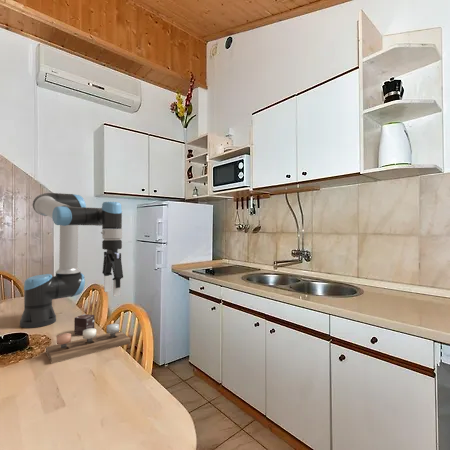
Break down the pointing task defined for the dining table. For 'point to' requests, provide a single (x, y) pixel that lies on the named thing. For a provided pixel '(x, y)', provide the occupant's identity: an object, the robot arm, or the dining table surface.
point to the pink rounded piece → (63, 339)
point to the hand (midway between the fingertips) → (112, 293)
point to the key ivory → (89, 334)
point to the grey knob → (112, 329)
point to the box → (83, 323)
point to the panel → (86, 346)
